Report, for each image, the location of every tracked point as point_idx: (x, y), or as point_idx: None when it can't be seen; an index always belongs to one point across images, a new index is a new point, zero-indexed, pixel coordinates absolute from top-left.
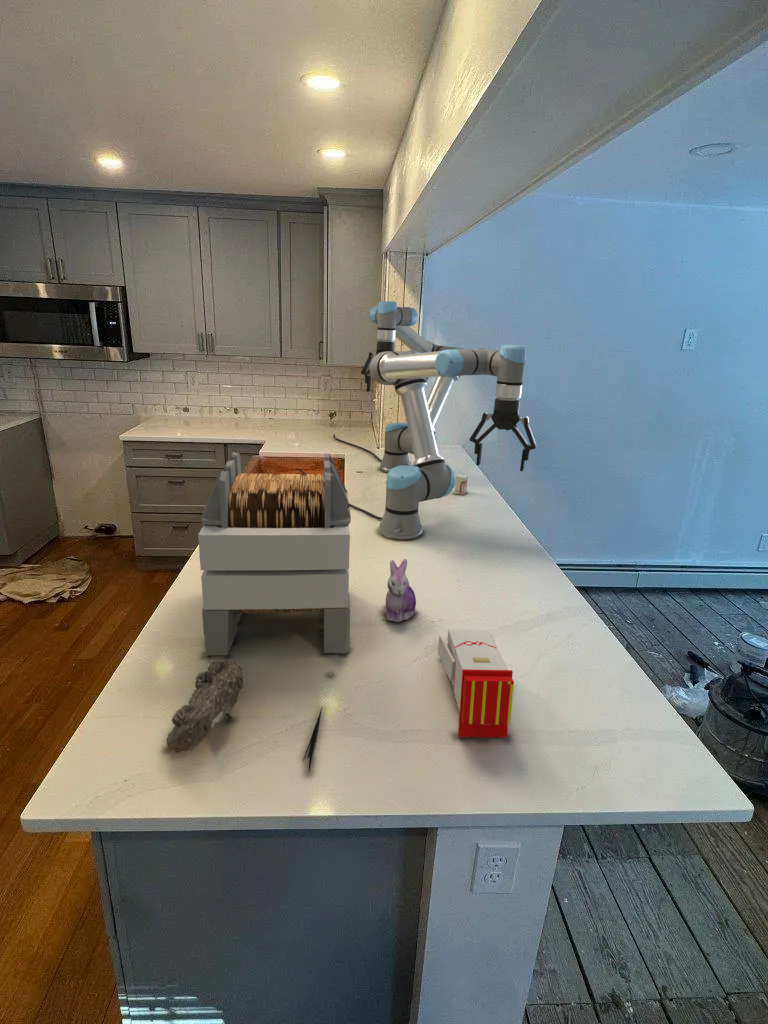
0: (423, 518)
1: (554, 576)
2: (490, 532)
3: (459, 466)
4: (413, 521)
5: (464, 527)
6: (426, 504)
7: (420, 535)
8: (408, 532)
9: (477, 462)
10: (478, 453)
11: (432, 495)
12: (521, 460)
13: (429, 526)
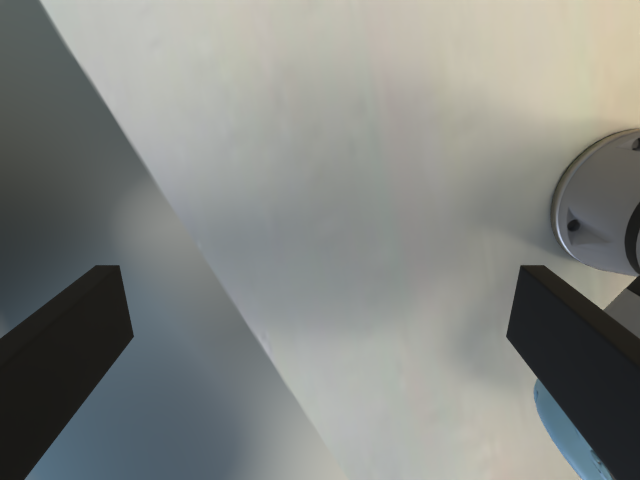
0: None
1: (102, 84)
2: (350, 320)
3: None
4: (618, 186)
5: (428, 323)
6: None
7: (554, 197)
8: (608, 152)
9: (549, 277)
10: (619, 333)
11: (612, 307)
12: (49, 325)
13: None
